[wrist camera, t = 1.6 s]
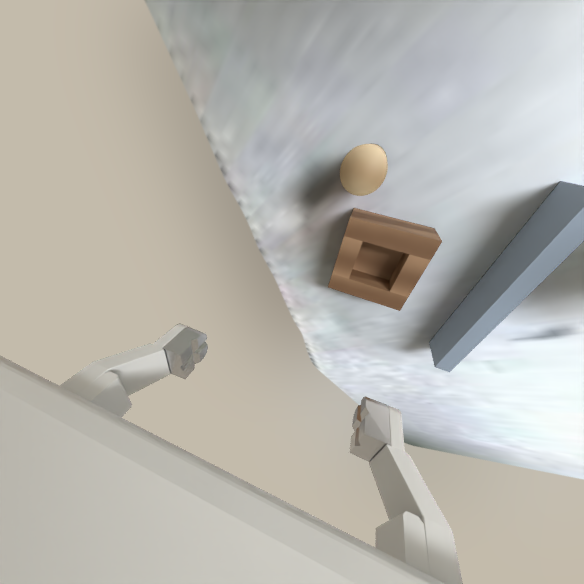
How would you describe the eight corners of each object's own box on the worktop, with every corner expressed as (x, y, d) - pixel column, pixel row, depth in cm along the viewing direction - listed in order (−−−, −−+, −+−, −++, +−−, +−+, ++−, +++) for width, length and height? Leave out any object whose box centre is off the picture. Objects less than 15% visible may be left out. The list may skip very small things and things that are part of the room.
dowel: (356, 140, 25) (347, 139, 19) (392, 147, 24) (395, 149, 18) (346, 179, 27) (334, 190, 21) (378, 186, 27) (376, 200, 20)
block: (354, 207, 29) (349, 217, 25) (434, 228, 27) (442, 241, 23) (333, 272, 35) (327, 287, 31) (398, 292, 33) (399, 310, 29)
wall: (560, 181, 21) (599, 189, 17) (584, 186, 21) (630, 196, 17) (429, 342, 36) (434, 366, 32) (442, 346, 35) (449, 372, 31)
